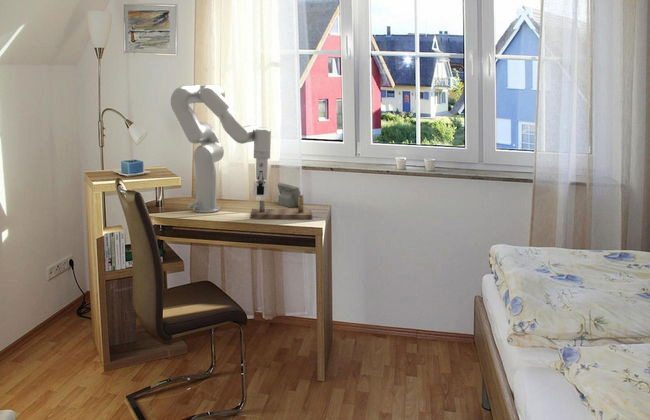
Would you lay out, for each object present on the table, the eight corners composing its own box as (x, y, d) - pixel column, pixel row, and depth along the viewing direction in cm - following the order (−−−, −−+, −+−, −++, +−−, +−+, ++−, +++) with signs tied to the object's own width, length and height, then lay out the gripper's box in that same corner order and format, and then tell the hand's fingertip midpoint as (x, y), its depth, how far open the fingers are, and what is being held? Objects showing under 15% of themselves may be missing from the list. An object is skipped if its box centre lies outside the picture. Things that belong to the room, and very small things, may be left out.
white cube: (253, 196, 343) (253, 183, 342) (253, 193, 350) (254, 180, 348) (267, 196, 344) (267, 183, 342) (267, 193, 350) (268, 181, 349)
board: (250, 218, 342) (250, 197, 340) (251, 212, 354) (251, 192, 352) (311, 219, 344) (312, 197, 342) (311, 213, 356) (311, 192, 354)
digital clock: (305, 207, 369) (305, 186, 367) (288, 209, 365) (289, 187, 362) (290, 201, 383) (290, 180, 380) (274, 202, 378) (274, 181, 376)
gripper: (269, 158, 334) (268, 197, 338) (270, 152, 351) (269, 189, 355) (252, 157, 334) (251, 196, 338) (254, 151, 351) (253, 189, 355)
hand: (260, 192), depth 346 cm, fingers closed on white cube, 6 cm apart
